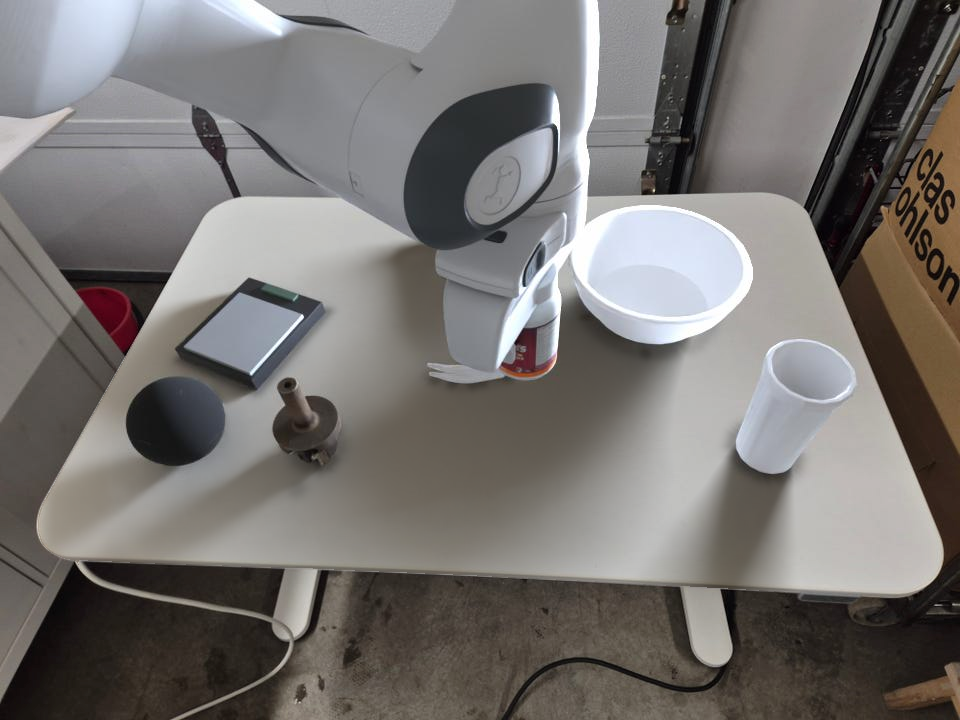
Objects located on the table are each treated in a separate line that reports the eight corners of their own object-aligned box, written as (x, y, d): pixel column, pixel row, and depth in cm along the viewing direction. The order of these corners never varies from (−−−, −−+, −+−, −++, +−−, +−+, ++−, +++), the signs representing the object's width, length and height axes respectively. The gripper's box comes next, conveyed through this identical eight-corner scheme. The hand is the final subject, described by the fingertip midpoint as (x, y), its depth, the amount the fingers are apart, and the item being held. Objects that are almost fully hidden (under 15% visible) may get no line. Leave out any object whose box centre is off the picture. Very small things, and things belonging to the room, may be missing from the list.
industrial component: (293, 420, 74) (261, 356, 65) (352, 418, 74) (328, 353, 64) (276, 490, 68) (238, 430, 59) (341, 489, 67) (313, 428, 58)
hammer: (432, 391, 76) (429, 375, 73) (407, 240, 95) (404, 224, 92) (528, 374, 77) (528, 358, 74) (484, 228, 96) (483, 212, 93)
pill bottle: (480, 362, 59) (473, 274, 51) (519, 326, 62) (519, 236, 54) (531, 393, 56) (534, 305, 48) (569, 353, 59) (578, 264, 51)
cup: (807, 434, 69) (861, 351, 58) (798, 494, 64) (855, 416, 53) (733, 411, 71) (771, 328, 60) (719, 467, 67) (758, 388, 56)
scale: (256, 390, 77) (249, 377, 75) (180, 358, 81) (171, 345, 79) (325, 311, 86) (321, 298, 84) (253, 287, 90) (247, 273, 88)
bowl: (669, 235, 92) (681, 187, 86) (771, 334, 79) (794, 286, 72) (536, 280, 87) (537, 233, 81) (620, 394, 74) (630, 349, 67)
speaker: (233, 399, 76) (201, 347, 69) (243, 464, 70) (209, 414, 63) (150, 426, 74) (107, 374, 67) (152, 494, 68) (106, 447, 61)
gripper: (541, 127, 52) (537, 253, 63) (421, 272, 41) (441, 397, 51) (612, 141, 50) (596, 269, 61) (506, 299, 39) (509, 423, 49)
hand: (524, 329), depth 56 cm, fingers closed on pill bottle, 6 cm apart
